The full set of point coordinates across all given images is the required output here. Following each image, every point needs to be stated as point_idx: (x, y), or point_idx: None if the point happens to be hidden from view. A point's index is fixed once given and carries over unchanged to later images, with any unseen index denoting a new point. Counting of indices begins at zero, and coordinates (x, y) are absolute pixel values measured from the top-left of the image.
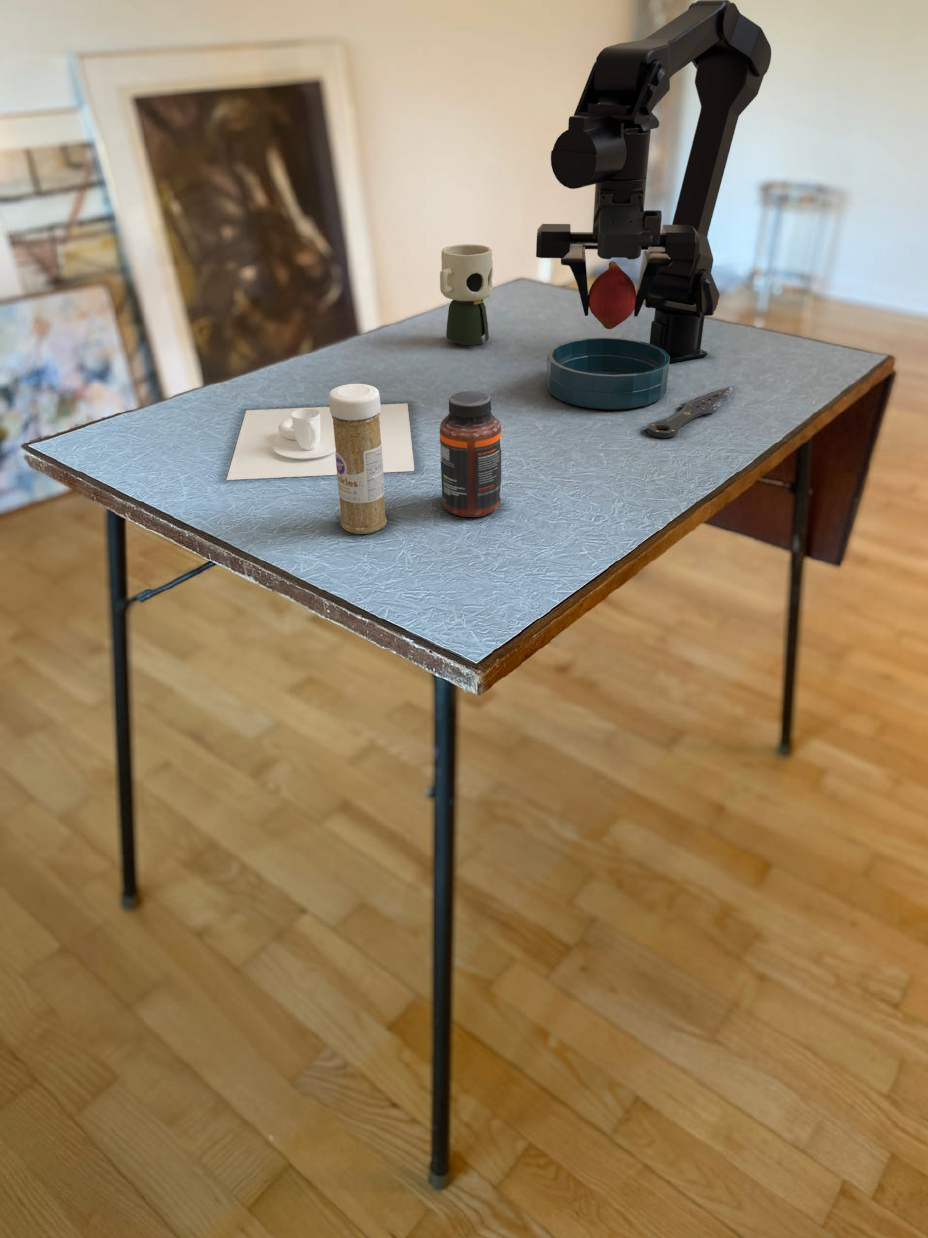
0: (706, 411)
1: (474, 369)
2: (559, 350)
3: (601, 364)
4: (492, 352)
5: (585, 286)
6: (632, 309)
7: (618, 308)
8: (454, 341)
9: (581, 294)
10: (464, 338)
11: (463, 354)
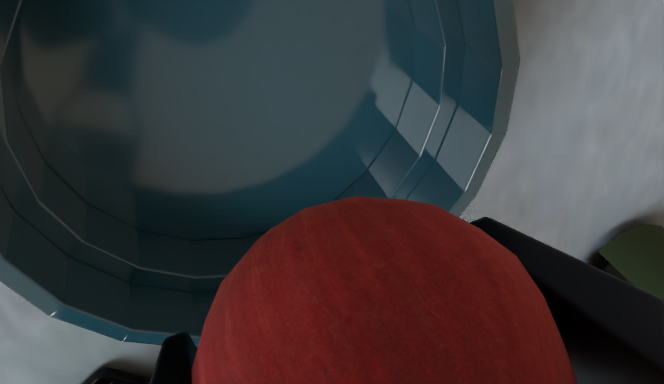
0: None
1: (630, 106)
2: (460, 171)
3: None
4: (571, 228)
5: (645, 339)
6: (199, 342)
7: (300, 263)
8: (659, 226)
9: (615, 283)
10: (648, 236)
11: (636, 189)
